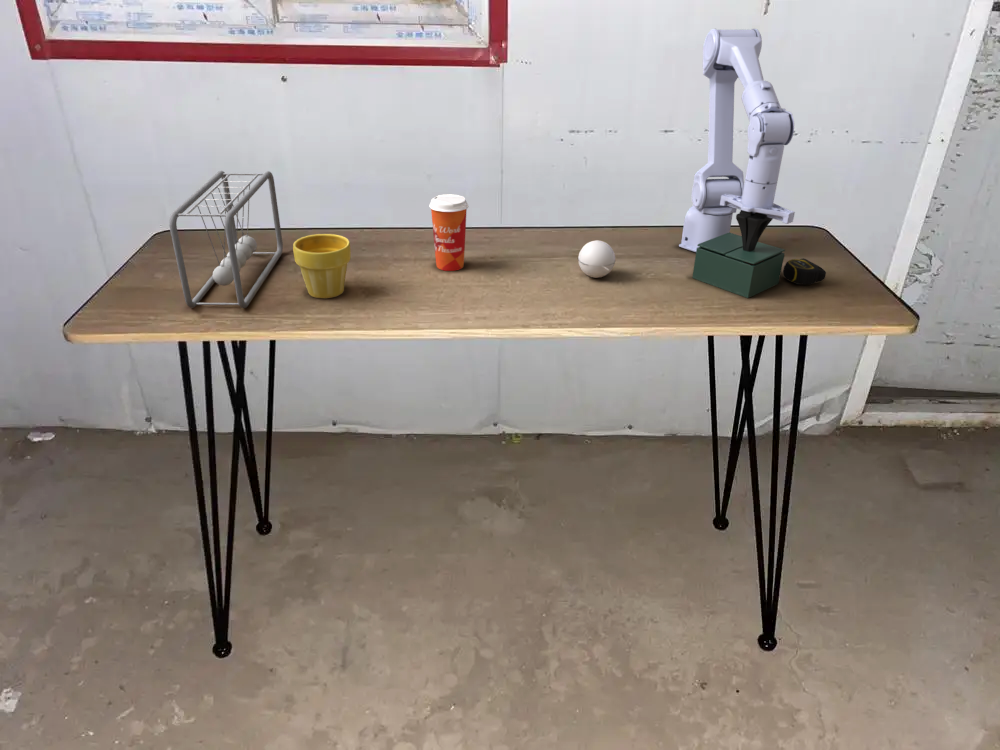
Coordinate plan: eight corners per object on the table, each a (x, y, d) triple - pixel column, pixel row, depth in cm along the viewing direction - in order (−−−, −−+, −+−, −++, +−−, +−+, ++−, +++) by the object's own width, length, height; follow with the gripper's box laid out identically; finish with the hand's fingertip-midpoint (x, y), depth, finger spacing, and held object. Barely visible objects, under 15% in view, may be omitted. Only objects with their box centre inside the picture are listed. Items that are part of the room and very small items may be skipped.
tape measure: (825, 286, 152) (829, 268, 150) (795, 289, 150) (799, 271, 148) (803, 273, 158) (807, 255, 156) (774, 276, 156) (778, 259, 154)
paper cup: (424, 269, 157) (422, 202, 150) (441, 256, 163) (439, 191, 156) (459, 275, 154) (458, 207, 147) (475, 262, 161) (475, 196, 154)
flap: (784, 251, 149) (785, 249, 149) (753, 264, 143) (754, 262, 143) (756, 243, 153) (756, 241, 153) (725, 255, 147) (725, 254, 147)
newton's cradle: (244, 312, 139) (228, 216, 130) (186, 312, 138) (166, 216, 130) (284, 251, 165) (273, 168, 156) (235, 251, 164) (220, 167, 156)
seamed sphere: (573, 269, 158) (576, 235, 154) (609, 269, 158) (612, 234, 155) (582, 289, 149) (584, 253, 146) (620, 288, 150) (623, 252, 146)
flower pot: (363, 285, 150) (359, 236, 145) (337, 306, 141) (332, 255, 136) (317, 277, 153) (311, 230, 148) (288, 298, 144) (281, 248, 139)
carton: (778, 283, 153) (785, 249, 149) (747, 298, 147) (754, 262, 143) (723, 264, 161) (728, 232, 157) (692, 278, 155) (697, 244, 151)
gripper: (715, 175, 145) (704, 244, 151) (785, 193, 135) (770, 265, 142) (736, 168, 149) (725, 236, 156) (806, 185, 139) (791, 256, 146)
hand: (748, 249), depth 149 cm, fingers closed, pressing on flap
